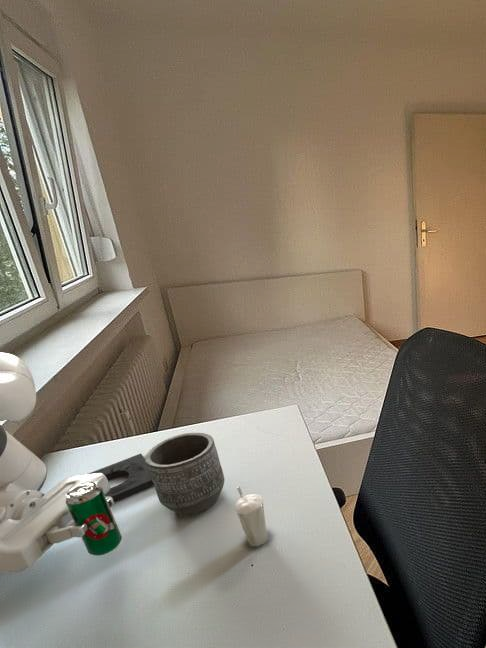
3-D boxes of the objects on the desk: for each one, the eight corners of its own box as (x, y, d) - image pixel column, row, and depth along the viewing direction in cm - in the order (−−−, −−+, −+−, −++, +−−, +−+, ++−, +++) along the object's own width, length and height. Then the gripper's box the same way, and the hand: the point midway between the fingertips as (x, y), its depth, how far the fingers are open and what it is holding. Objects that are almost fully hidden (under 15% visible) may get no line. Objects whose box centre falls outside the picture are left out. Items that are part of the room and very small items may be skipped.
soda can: (98, 537, 78) (74, 481, 73) (128, 534, 79) (106, 478, 74) (82, 559, 74) (55, 501, 69) (114, 555, 74) (89, 497, 69)
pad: (79, 517, 87) (76, 511, 87) (68, 487, 97) (66, 481, 97) (159, 483, 96) (157, 477, 96) (142, 458, 106) (141, 453, 106)
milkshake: (261, 525, 82) (250, 481, 78) (276, 539, 79) (265, 493, 74) (238, 538, 79) (225, 493, 75) (252, 553, 76) (239, 507, 72)
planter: (196, 528, 82) (178, 472, 77) (149, 515, 87) (129, 460, 82) (241, 489, 92) (227, 436, 87) (197, 479, 97) (181, 428, 92)
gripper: (71, 493, 85) (140, 491, 84) (-29, 580, 66) (59, 579, 65) (59, 465, 82) (130, 464, 82) (-48, 548, 64) (42, 546, 63)
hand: (98, 516), depth 73 cm, fingers closed on soda can, 5 cm apart
